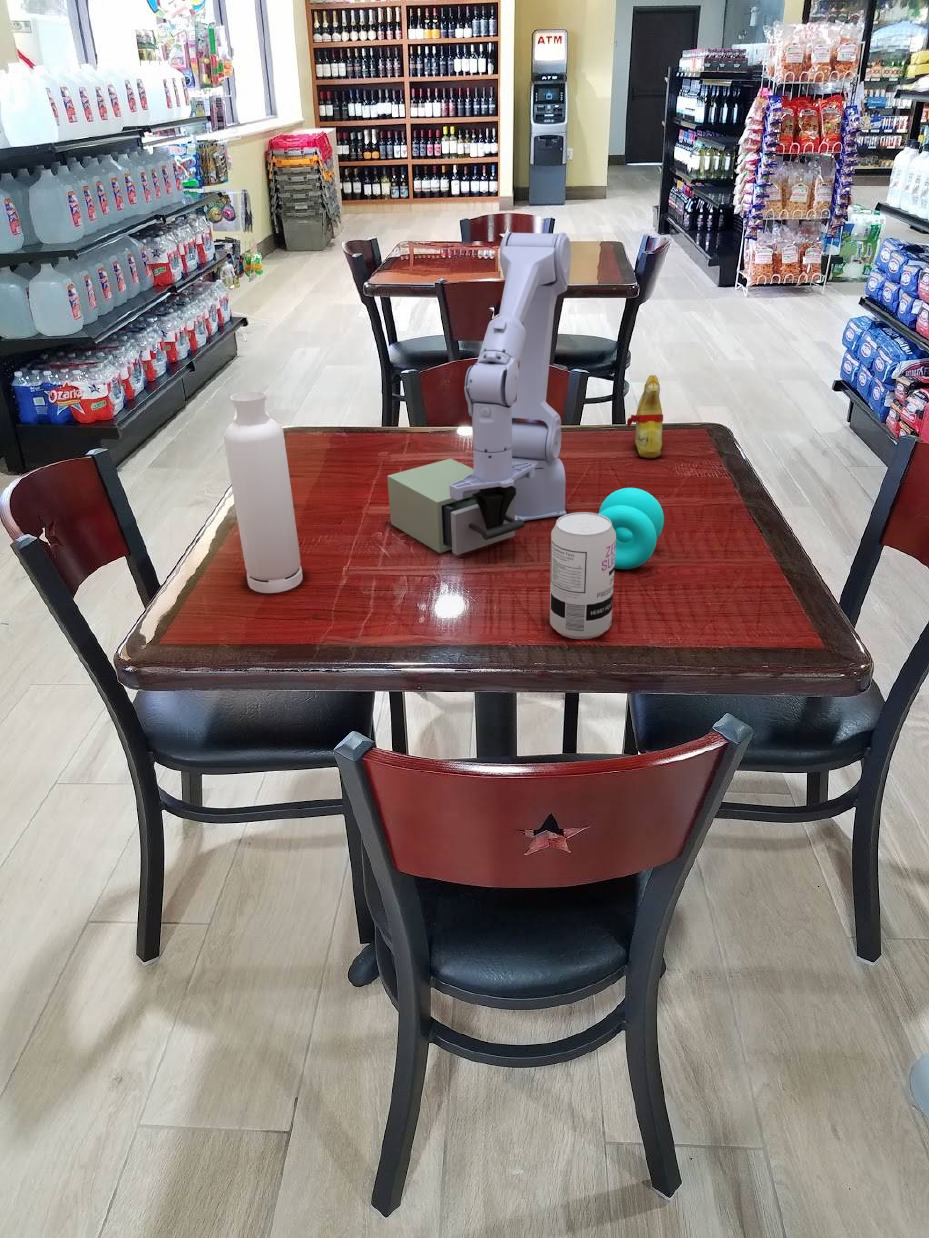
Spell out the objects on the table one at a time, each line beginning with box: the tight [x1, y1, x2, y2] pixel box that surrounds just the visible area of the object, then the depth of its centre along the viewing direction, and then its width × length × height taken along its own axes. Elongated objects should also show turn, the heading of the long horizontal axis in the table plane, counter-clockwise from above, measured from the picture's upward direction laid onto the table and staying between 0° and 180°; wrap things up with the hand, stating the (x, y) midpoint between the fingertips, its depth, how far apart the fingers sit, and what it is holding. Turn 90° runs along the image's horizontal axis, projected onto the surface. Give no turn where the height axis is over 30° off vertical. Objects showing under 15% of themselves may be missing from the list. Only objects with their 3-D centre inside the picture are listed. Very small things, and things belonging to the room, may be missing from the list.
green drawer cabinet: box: [386, 458, 474, 554], centre depth 152 cm, size 15×13×9 cm
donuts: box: [598, 487, 665, 570], centre depth 140 cm, size 10×10×10 cm
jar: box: [448, 496, 477, 511], centre depth 148 cm, size 4×5×5 cm
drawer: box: [442, 497, 525, 556], centre depth 147 cm, size 19×11×7 cm, turn 35°
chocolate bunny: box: [626, 374, 664, 459], centre depth 179 cm, size 7×11×15 cm, turn 176°
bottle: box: [223, 390, 303, 594], centre depth 132 cm, size 8×8×28 cm
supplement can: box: [549, 511, 616, 640], centre depth 121 cm, size 8×8×15 cm
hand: (493, 531), depth 142 cm, fingers closed, pressing on drawer
